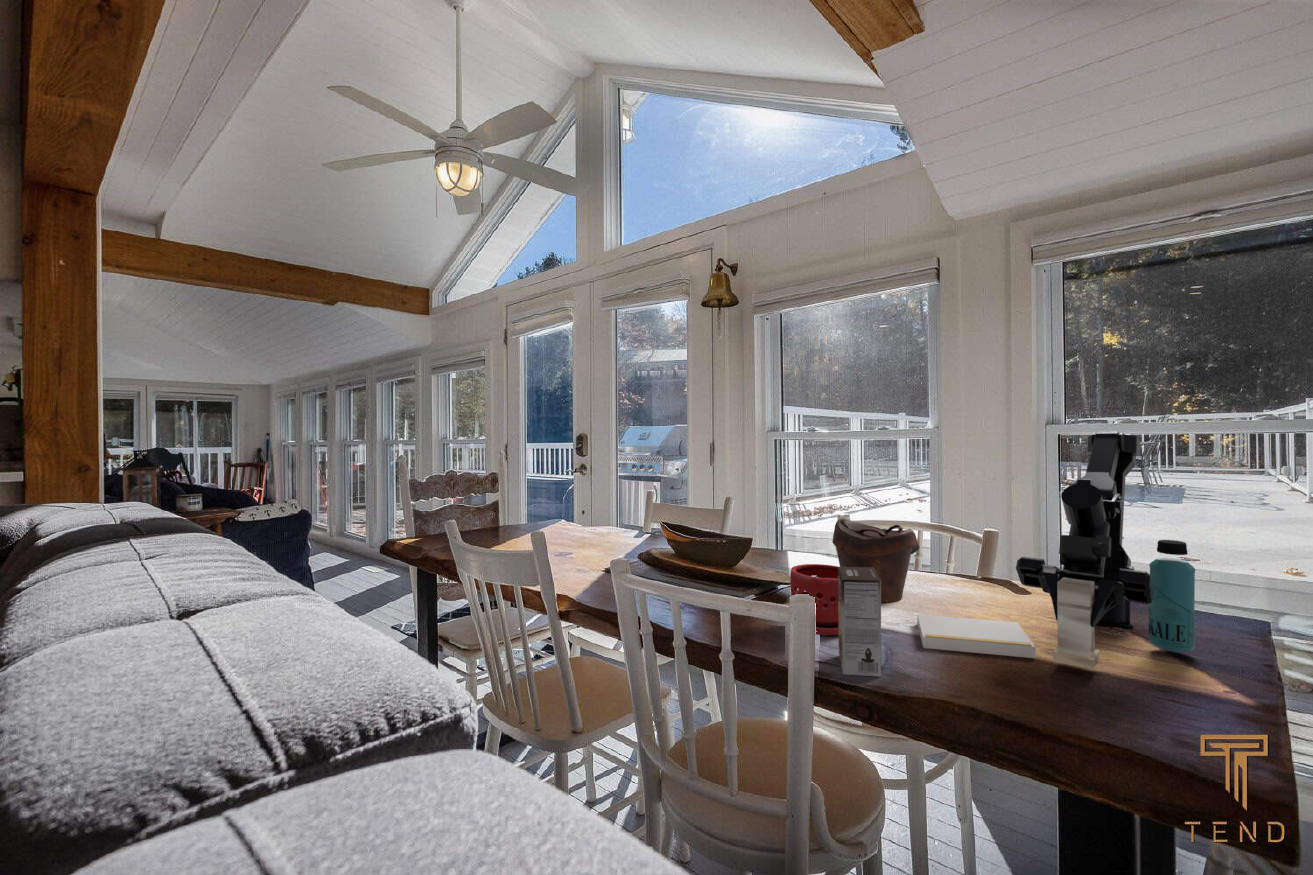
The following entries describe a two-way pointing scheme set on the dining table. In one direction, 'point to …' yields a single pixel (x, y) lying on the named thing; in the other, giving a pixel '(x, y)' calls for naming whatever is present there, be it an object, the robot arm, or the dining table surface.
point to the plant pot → (819, 593)
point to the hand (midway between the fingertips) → (1074, 622)
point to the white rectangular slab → (974, 636)
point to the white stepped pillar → (1076, 623)
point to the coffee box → (859, 621)
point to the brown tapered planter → (877, 553)
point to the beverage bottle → (1172, 599)
